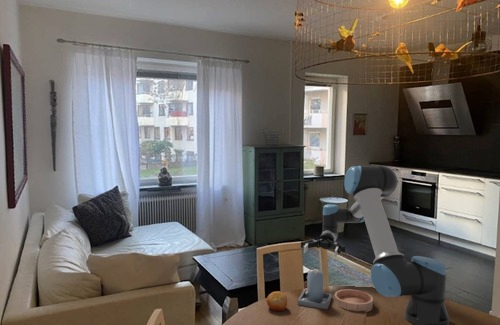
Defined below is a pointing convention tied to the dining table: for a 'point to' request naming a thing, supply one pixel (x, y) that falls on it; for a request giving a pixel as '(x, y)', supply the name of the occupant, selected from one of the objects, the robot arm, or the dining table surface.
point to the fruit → (277, 301)
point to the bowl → (353, 300)
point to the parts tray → (323, 304)
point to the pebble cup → (315, 286)
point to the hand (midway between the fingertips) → (319, 251)
